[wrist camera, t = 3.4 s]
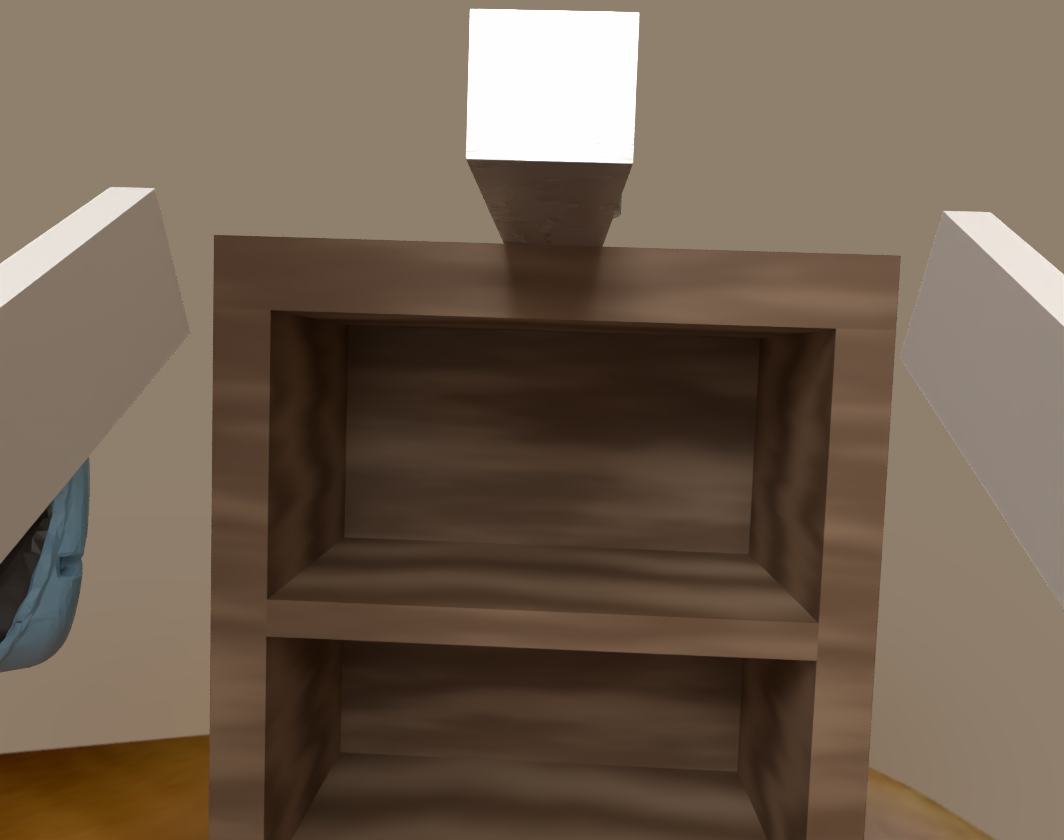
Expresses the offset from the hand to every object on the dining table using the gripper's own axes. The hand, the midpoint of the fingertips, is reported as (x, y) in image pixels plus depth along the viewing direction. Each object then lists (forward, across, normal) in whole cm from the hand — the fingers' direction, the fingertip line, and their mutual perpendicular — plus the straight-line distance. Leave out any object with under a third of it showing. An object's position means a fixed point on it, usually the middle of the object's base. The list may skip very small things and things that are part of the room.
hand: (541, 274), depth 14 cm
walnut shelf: (+10, 0, -36) cm, 38 cm away
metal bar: (+20, 0, -8) cm, 21 cm away
